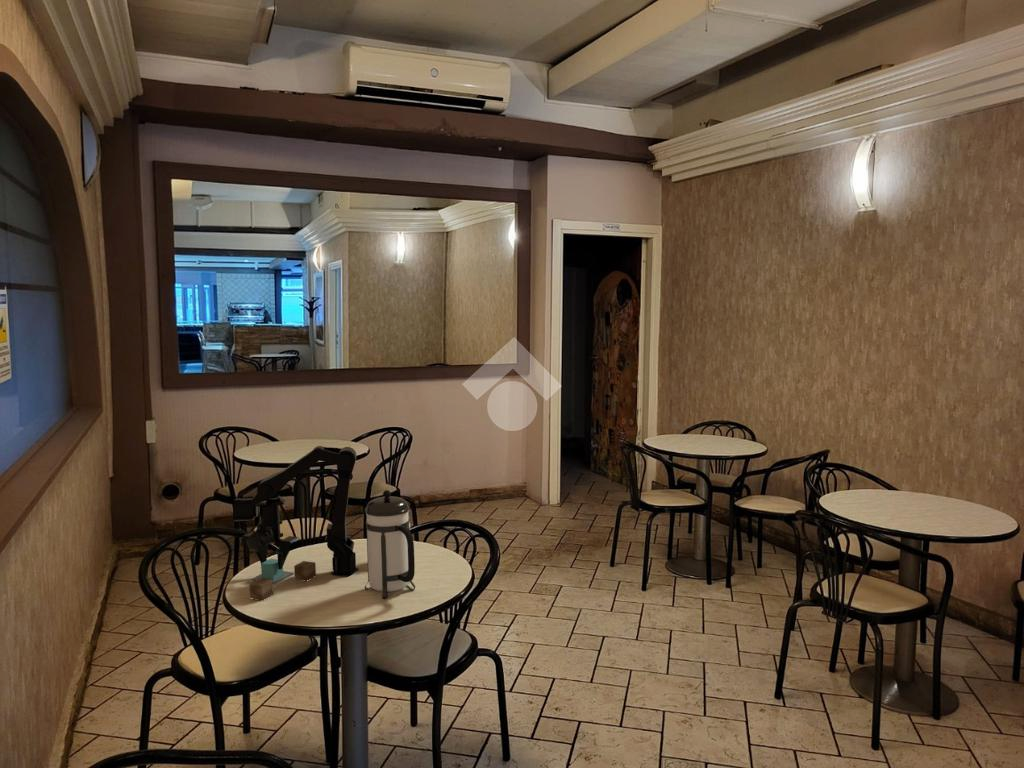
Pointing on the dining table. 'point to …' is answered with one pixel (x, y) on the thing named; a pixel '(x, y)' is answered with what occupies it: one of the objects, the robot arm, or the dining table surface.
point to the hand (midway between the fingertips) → (272, 568)
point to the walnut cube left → (261, 589)
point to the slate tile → (276, 580)
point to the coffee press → (389, 544)
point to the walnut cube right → (305, 570)
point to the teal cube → (271, 569)
